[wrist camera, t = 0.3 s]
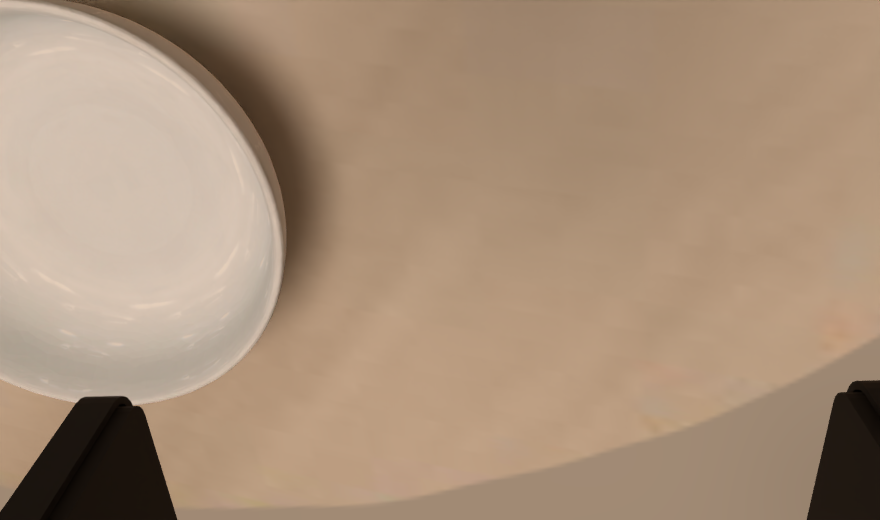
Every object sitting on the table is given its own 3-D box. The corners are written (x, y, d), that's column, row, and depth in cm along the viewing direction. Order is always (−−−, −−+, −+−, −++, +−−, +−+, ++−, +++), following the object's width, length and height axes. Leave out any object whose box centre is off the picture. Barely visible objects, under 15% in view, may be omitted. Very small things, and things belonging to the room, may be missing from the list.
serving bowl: (150, -114, 36) (83, -101, 30) (380, 251, 44) (365, 318, 38) (-165, 91, 41) (-276, 137, 35) (95, 381, 50) (42, 458, 44)
